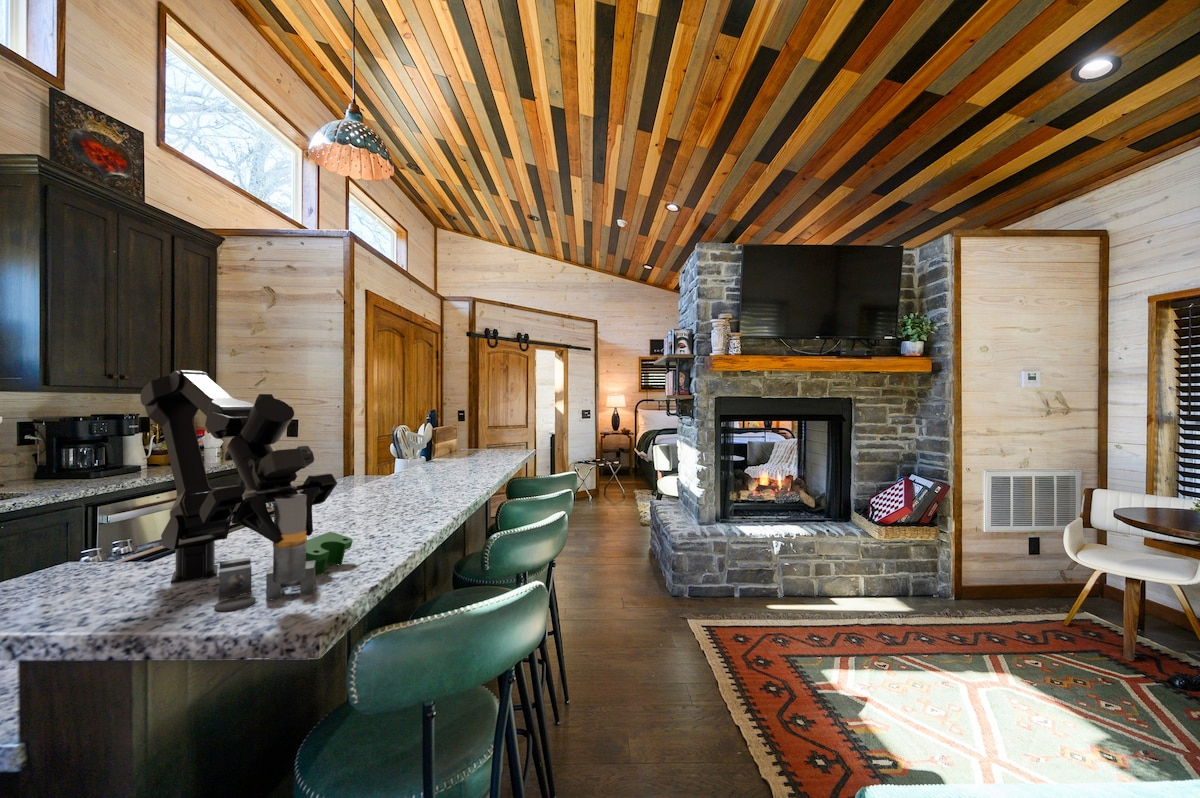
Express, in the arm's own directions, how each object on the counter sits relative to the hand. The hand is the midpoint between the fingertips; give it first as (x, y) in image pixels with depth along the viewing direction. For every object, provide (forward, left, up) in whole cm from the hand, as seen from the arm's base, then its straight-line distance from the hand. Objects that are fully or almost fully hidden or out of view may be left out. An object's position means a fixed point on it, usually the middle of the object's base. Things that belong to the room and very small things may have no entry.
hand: (295, 537), depth 77 cm
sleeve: (-1, -1, -7) cm, 7 cm away
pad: (-8, -7, -11) cm, 16 cm away
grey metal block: (-16, -7, -11) cm, 21 cm away
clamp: (-20, +6, -12) cm, 24 cm away
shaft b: (-9, 0, -11) cm, 14 cm away
